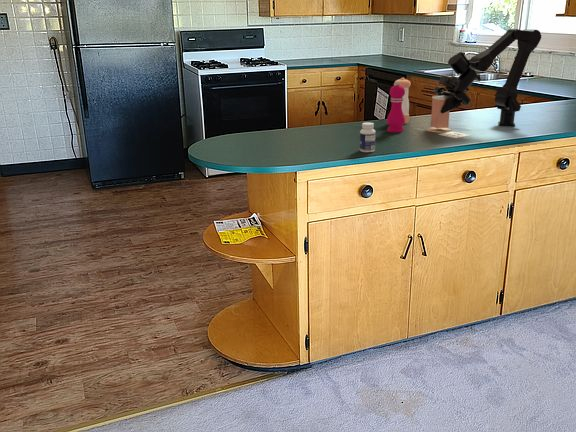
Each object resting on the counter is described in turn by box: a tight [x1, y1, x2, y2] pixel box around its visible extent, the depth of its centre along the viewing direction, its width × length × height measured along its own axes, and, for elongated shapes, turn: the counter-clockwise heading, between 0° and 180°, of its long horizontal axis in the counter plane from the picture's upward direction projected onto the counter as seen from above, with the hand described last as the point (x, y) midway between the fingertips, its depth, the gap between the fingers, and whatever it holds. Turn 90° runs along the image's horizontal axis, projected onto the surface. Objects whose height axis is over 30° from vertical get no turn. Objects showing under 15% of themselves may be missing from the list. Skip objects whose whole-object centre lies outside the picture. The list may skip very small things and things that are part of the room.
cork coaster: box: [426, 127, 453, 134], centre depth 239 cm, size 10×10×1 cm
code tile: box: [437, 130, 469, 139], centre depth 230 cm, size 9×9×1 cm
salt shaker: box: [393, 77, 411, 125], centre depth 254 cm, size 7×7×19 cm
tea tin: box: [430, 95, 451, 128], centre depth 236 cm, size 5×5×12 cm
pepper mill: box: [386, 81, 405, 133], centre depth 236 cm, size 7×7×20 cm
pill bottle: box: [359, 121, 376, 153], centre depth 206 cm, size 5×5×10 cm
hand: (437, 111), depth 236 cm, fingers closed on tea tin, 5 cm apart
